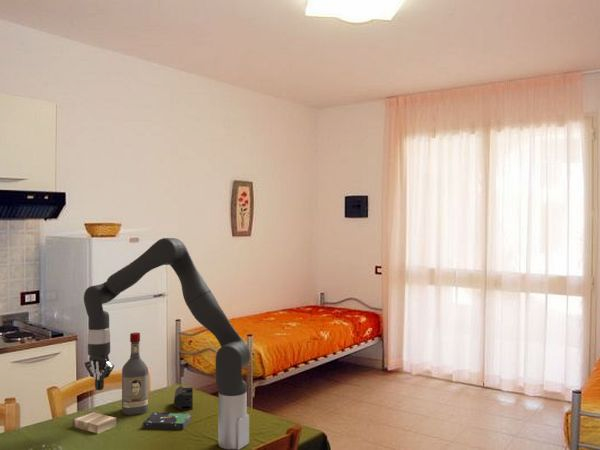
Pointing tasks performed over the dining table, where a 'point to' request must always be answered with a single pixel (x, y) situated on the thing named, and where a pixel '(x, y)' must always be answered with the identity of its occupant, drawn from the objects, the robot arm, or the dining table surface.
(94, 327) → the robot arm
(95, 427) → the birch tile
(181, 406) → the end cap
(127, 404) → the liquor
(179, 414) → the disk drive
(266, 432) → the dining table surface
